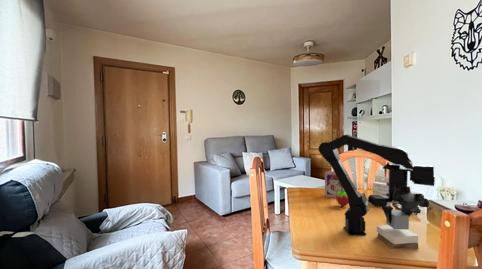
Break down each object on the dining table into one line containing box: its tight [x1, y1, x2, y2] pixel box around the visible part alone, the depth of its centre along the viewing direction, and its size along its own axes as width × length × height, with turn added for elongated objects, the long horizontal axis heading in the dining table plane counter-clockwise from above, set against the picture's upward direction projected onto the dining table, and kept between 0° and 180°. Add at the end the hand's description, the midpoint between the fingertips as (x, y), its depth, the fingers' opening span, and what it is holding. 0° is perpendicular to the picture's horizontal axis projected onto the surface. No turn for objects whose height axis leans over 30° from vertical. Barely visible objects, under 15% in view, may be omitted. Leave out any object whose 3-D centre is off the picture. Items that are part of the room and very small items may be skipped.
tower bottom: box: [377, 232, 419, 250], centre depth 86 cm, size 9×9×2 cm
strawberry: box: [335, 188, 349, 207], centre depth 122 cm, size 6×7×10 cm
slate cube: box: [385, 209, 410, 230], centre depth 85 cm, size 5×5×5 cm
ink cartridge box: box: [372, 175, 393, 206], centre depth 124 cm, size 9×5×15 cm, turn 47°
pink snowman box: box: [324, 170, 346, 198], centre depth 140 cm, size 11×7×15 cm, turn 67°
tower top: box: [376, 224, 419, 244], centre depth 86 cm, size 9×9×2 cm
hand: (397, 223), depth 86 cm, fingers closed on slate cube, 5 cm apart
